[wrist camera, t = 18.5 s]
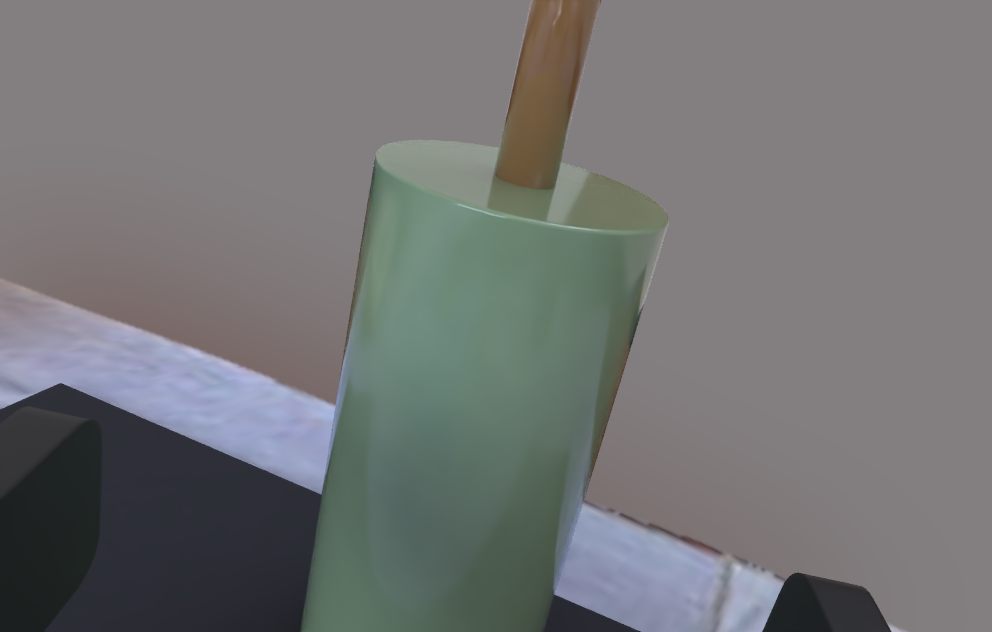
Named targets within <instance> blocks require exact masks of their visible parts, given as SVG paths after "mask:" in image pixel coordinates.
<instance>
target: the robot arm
mask: <svg viewBox="0 0 992 632" xmlns="http://www.w3.org/2000/svg"><path fill="white" fill-rule="evenodd" d="M102 452H103V434H102V429H101V426H100V425H99V423H98V422H97V421H95V420H90V419H86V418H81V417H76V416H72V415H67V414H62V413H58V412H53V411H48V410H44V409H39V408H34V407H30V406H28V407H23V408H20V409H19V410H17V411H16V412H14V413H13V414H12V415H10V416H9V417H8V418H6V419H5V420H4V421H3V422H1V423H0V632H44V631H45V630H46V629H47V627H48V626H49V625H50V624H51V622H52V621H53V620H54V619H55V617H56V616H57V615H58V613H59V612H60V611H61V610H62V608H63V607H64V606H65V605H66V603H67V602H68V601H69V599H70V598H71V597H72V596H73V594H74V593H75V592H76V590H77V589H78V588H79V586H80V585H81V583H82V582H83V580H84V578H85V576H86V574H87V572H88V570H89V568H90V566H91V563H92V561H93V558H94V555H95V552H96V549H97V545H98V540H99V533H100V511H101V482H102ZM763 632H891V630H890V628H889V626H888V625H887V623H886V621H885V619H884V617H883V616H882V614H881V612H880V610H879V608H878V607H877V605H876V603H875V601H874V599H873V598H872V596H871V594H870V593H869V592H868V591H867V590H866V589H865V588H864V587H862V586H858V585H853V584H849V583H844V582H839V581H834V580H829V579H825V578H820V577H815V576H811V575H806V574H802V573H794V574H792V575H791V576H790V577H789V578H788V579H787V580H786V581H785V583H784V585H783V587H782V589H781V591H780V593H779V595H778V598H777V600H776V602H775V604H774V607H773V609H772V611H771V613H770V616H769V618H768V620H767V623H766V625H765V627H764V629H763Z"/></svg>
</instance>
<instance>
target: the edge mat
mask: <svg viewBox="0 0 992 632" xmlns="http://www.w3.org/2000/svg"><path fill="white" fill-rule="evenodd" d="M28 406H30V407H34V408H39V409H44V410H48V411H53V412H58V413H62V414H67V415H72V416H76V417H81V418H86V419H90V420H95V421H97V422H98V423H99V425H100V426H101V429H102V434H103V452H102V482H101V511H100V533H99V540H98V545H97V549H96V552H95V555H94V558H93V561H92V563H91V566H90V568H89V570H88V572H87V574H86V576H85V578H84V580H83V582H82V583H81V585H80V586H79V588H78V589H77V590H76V592H75V593H74V594H73V596H72V597H71V598H70V599H69V601H68V602H67V603H66V605H65V606H64V607H63V608H62V610H61V611H60V612H59V613H58V615H57V616H56V617H55V619H54V620H53V621H52V622H51V624H50V625H49V626H48V627H47V629H46V630H45V631H44V632H300V628H301V622H302V616H303V609H304V603H305V597H306V590H307V584H308V578H309V571H310V565H311V559H312V552H313V546H314V540H315V533H316V527H317V521H318V514H319V508H320V502H321V494H318V493H316V492H314V491H311V490H309V489H307V488H304V487H302V486H300V485H297V484H295V483H293V482H290V481H288V480H286V479H283V478H281V477H279V476H276V475H274V474H272V473H269V472H267V471H265V470H262V469H260V468H258V467H255V466H253V465H251V464H248V463H246V462H244V461H241V460H239V459H237V458H234V457H232V456H230V455H227V454H225V453H223V452H220V451H218V450H216V449H213V448H211V447H209V446H206V445H204V444H202V443H199V442H197V441H195V440H192V439H190V438H188V437H185V436H183V435H181V434H178V433H176V432H174V431H171V430H169V429H167V428H164V427H162V426H160V425H157V424H155V423H153V422H150V421H148V420H146V419H143V418H141V417H139V416H136V415H134V414H132V413H129V412H127V411H125V410H122V409H120V408H118V407H115V406H113V405H111V404H108V403H106V402H104V401H101V400H99V399H97V398H94V397H92V396H90V395H87V394H85V393H83V392H80V391H78V390H76V389H73V388H71V387H69V386H66V385H64V384H62V383H60V384H57V385H55V386H53V387H51V388H48V389H46V390H44V391H41V392H39V393H37V394H35V395H32V396H30V397H28V398H26V399H23V400H21V401H19V402H16V403H14V404H12V405H10V406H7V407H5V408H3V409H0V423H1V422H3V421H4V420H5V419H6V418H8V417H9V416H10V415H12V414H13V413H14V412H16V411H17V410H19V409H20V408H23V407H28ZM544 632H640V631H638V630H635V629H633V628H631V627H628V626H626V625H624V624H621V623H619V622H617V621H614V620H612V619H610V618H607V617H605V616H603V615H600V614H598V613H596V612H593V611H591V610H589V609H586V608H584V607H582V606H579V605H577V604H575V603H572V602H570V601H568V600H565V599H563V598H561V597H558V596H556V595H555V596H554V599H553V602H552V606H551V609H550V612H549V615H548V619H547V622H546V625H545V628H544Z"/></svg>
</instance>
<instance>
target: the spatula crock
mask: <svg viewBox="0 0 992 632" xmlns="http://www.w3.org/2000/svg"><path fill="white" fill-rule="evenodd" d="M600 3H601V0H531V2H530V7H529V11H528V16H527V21H526V26H525V30H524V35H523V39H522V44H521V49H520V53H519V58H518V62H517V67H516V72H515V76H514V81H513V86H512V90H511V95H510V99H509V104H508V109H507V114H506V118H505V123H504V127H503V132H502V137H501V141H500V146H499V148H496V147H491V146H484V145H477V144H471V143H463V142H454V141H441V140H407V141H400V142H393V143H389V144H386V145H384V146H382V147H381V148H379V150H378V151H377V153H376V155H375V160H374V167H373V173H372V179H371V185H370V192H369V198H368V204H367V211H366V217H365V223H364V230H363V236H362V242H361V248H360V255H359V261H358V268H357V274H356V280H355V286H354V293H353V300H352V305H351V312H350V319H349V324H348V331H347V337H346V343H345V350H344V356H343V363H342V369H341V375H340V381H339V388H338V394H337V400H336V407H335V413H334V419H333V426H332V432H331V438H330V445H329V451H328V457H327V464H326V470H325V476H324V483H323V489H322V495H321V502H320V508H319V514H318V521H317V527H316V533H315V540H314V546H313V552H312V559H311V565H310V571H309V578H308V584H307V590H306V597H305V603H304V609H303V616H302V622H301V628H300V632H544V628H545V625H546V622H547V619H548V615H549V612H550V609H551V606H552V602H553V599H554V596H555V593H556V589H557V586H558V583H559V579H560V576H561V573H562V570H563V566H564V563H565V560H566V557H567V553H568V550H569V547H570V544H571V540H572V537H573V534H574V531H575V527H576V524H577V521H578V518H579V514H580V511H581V508H582V505H583V501H584V498H585V494H586V492H587V488H588V485H589V482H590V478H591V475H592V472H593V469H594V465H595V462H596V459H597V456H598V452H599V449H600V446H601V443H602V439H603V436H604V433H605V430H606V426H607V423H608V420H609V417H610V413H611V410H612V407H613V404H614V400H615V397H616V393H617V391H618V387H619V384H620V381H621V377H622V374H623V371H624V368H625V365H626V361H627V358H628V355H629V351H630V348H631V345H632V341H633V338H634V335H635V332H636V329H637V325H638V322H639V319H640V315H641V312H642V309H643V306H644V303H645V299H646V296H647V293H648V290H649V286H650V283H651V280H652V276H653V273H654V270H655V267H656V264H657V260H658V257H659V254H660V251H661V247H662V244H663V241H664V237H665V234H666V231H667V228H668V224H669V217H668V214H667V212H666V211H665V210H664V209H663V208H662V207H661V206H660V205H659V204H658V203H656V202H655V201H653V200H652V199H651V198H649V197H647V196H646V195H644V194H642V193H640V192H639V191H637V190H635V189H633V188H631V187H628V186H626V185H624V184H622V183H619V182H617V181H615V180H612V179H610V178H607V177H604V176H602V175H599V174H596V173H593V172H590V171H588V170H584V169H581V168H578V167H575V166H572V165H568V164H565V163H561V161H562V157H563V153H564V149H565V144H566V140H567V137H568V132H569V128H570V124H571V120H572V116H573V112H574V108H575V104H576V100H577V96H578V92H579V88H580V84H581V80H582V76H583V72H584V68H585V63H586V60H587V55H588V51H589V47H590V43H591V39H592V35H593V31H594V27H595V23H596V19H597V15H598V11H599V7H600Z"/></svg>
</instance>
